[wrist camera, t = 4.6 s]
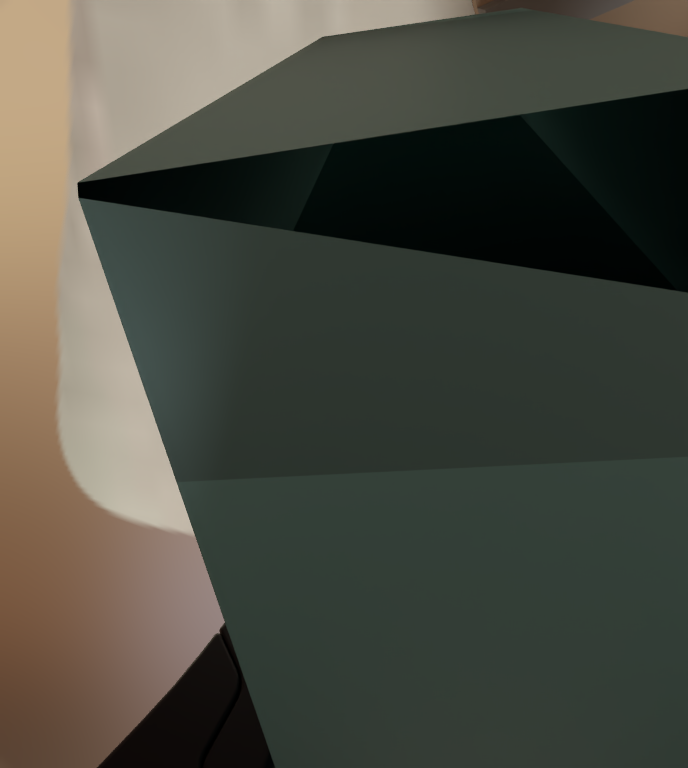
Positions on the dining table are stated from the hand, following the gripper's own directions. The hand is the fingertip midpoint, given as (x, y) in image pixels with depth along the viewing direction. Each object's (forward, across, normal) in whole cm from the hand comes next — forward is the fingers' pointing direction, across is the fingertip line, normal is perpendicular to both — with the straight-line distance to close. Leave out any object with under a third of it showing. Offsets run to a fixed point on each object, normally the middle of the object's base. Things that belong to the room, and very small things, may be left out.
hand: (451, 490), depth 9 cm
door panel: (+2, 0, 0) cm, 2 cm away
